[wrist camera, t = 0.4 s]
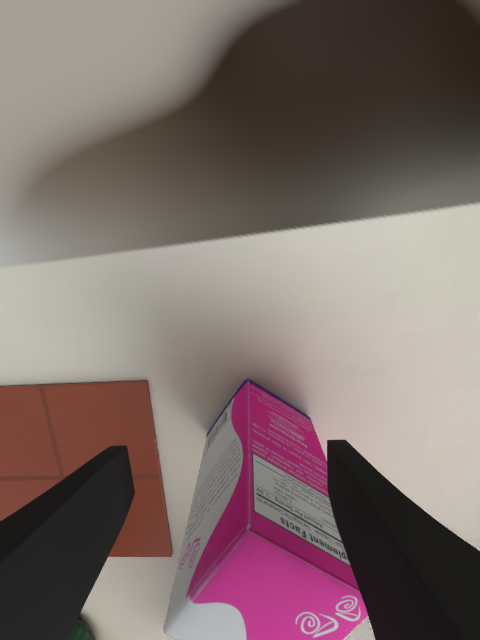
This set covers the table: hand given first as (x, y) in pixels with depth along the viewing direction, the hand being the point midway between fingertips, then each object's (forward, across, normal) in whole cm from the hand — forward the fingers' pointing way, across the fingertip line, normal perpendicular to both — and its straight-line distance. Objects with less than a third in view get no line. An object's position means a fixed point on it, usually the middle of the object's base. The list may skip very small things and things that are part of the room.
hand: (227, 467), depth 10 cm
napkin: (+10, +15, +9) cm, 20 cm away
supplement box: (+10, -1, +5) cm, 11 cm away
